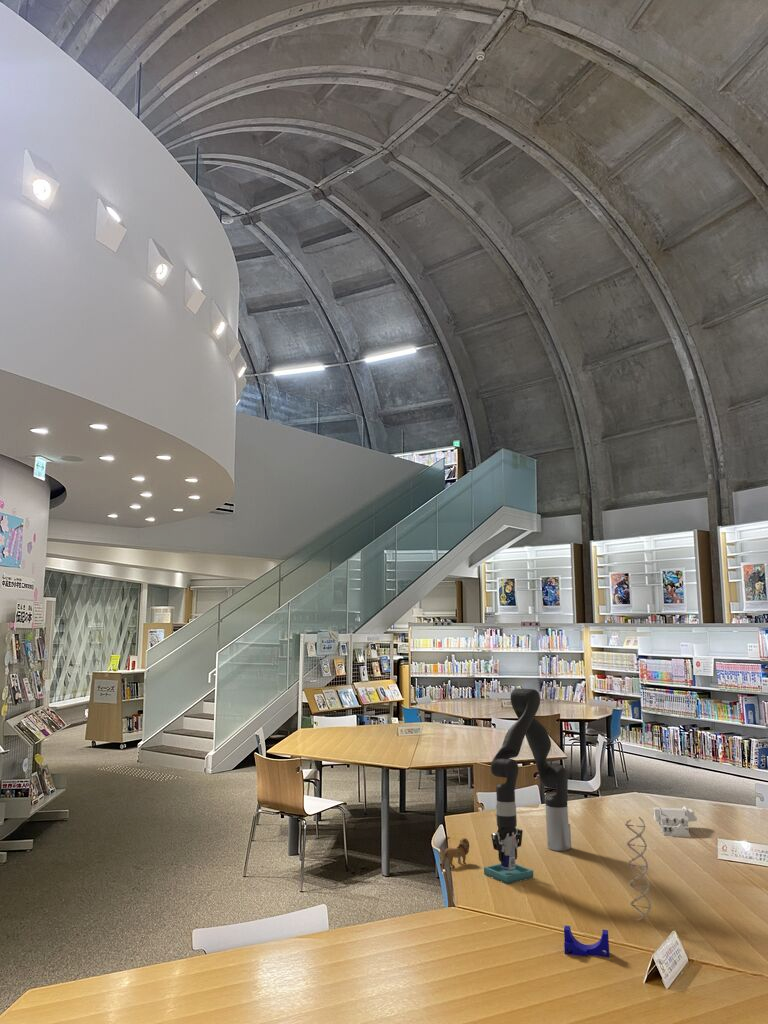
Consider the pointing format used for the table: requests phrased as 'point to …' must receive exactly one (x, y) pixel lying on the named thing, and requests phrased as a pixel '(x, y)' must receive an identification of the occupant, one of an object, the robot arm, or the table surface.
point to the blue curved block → (583, 950)
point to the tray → (508, 873)
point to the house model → (674, 820)
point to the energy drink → (509, 854)
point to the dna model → (637, 870)
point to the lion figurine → (457, 852)
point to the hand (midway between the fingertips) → (508, 860)
